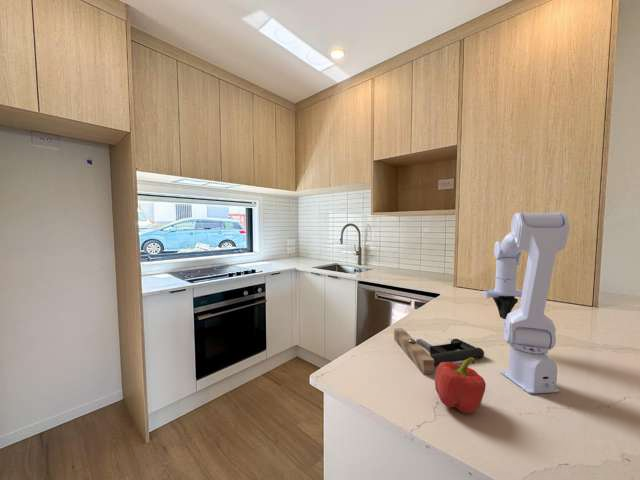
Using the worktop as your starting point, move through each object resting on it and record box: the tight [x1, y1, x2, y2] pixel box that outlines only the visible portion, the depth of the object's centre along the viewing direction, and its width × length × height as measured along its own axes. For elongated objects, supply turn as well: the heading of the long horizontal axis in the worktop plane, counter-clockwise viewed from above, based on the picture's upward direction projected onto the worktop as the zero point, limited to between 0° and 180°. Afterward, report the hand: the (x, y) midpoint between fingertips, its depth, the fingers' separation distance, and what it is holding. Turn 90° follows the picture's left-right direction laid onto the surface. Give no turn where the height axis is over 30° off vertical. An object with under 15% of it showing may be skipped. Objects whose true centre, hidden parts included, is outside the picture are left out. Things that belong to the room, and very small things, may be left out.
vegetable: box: [434, 358, 487, 414], centre depth 60 cm, size 11×10×10 cm
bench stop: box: [393, 327, 435, 375], centre depth 83 cm, size 22×3×5 cm, turn 5°
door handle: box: [415, 338, 485, 366], centre depth 85 cm, size 3×20×16 cm
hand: (504, 318), depth 88 cm, fingers closed
